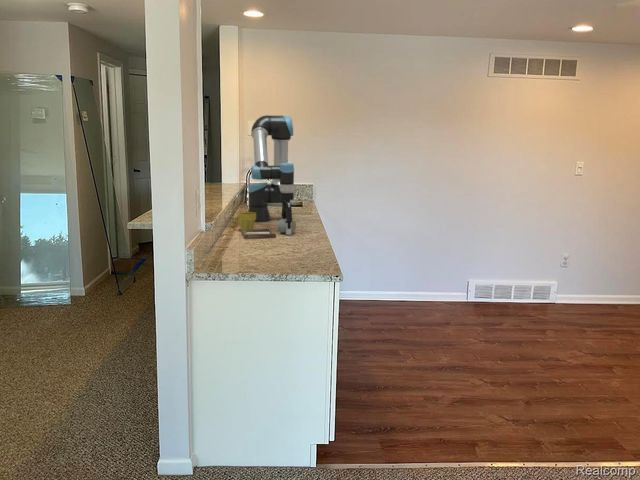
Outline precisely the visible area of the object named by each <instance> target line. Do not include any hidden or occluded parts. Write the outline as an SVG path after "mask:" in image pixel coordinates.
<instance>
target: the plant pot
mask: <svg viewBox="0 0 640 480" xmlns="http://www.w3.org/2000/svg"><path fill="white" fill-rule="evenodd" d="M237 220H238V222H239V228H240V231H241V232H242V230H245V229H255V228H254V227H255V223H256V222H255V220H256V213H253V212H248V211H247V212H246V211H243V212H238V213H237Z"/></svg>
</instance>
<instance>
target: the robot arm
mask: <svg viewBox="0 0 640 480" xmlns="http://www.w3.org/2000/svg"><path fill="white" fill-rule="evenodd" d="M250 131H251V132H250V134H251V137H252V139H253V157H254V158H253V160H254V165H252V166H251V170H250V171H251V179H252V180H258V181H259V180H271V181H270V184H268V182H266V181H265V182H263V181H262V182H256V183H251V184H250V185H248V210H247V212H253V213H256V220H255V223H257V222H259V223H261V222H269V221H271V214H270V210H269V208H268V207H269V205H268V204H281V205H282V206H281V219H286V220H287V221H286V222H285V223H286V233H285V235H288V236H289V235H291V236H292V234H291V222H292V220H293V211H292V209H293V207H292V205H293V204H292V203H291V201H294V199H295V193H294V192H295V183H294V181H295V179H294V178H295V167H294V166H295V165H294V163H293V162H292V163H291V162H288V161H289V160H288V158H289V141H291V140H292V137H293V136H294V125H293V119H292V117H291V116H289V115H269V114H267V115H262V116H260V117H258V118H257V119H256V120H255V121H254V123H253V124H252V126H251V130H250ZM268 136H270V137H271V140H273V165H269V156H268V143H267V138H268Z"/></svg>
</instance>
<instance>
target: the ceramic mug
mask: <svg viewBox="0 0 640 480" xmlns="http://www.w3.org/2000/svg"><path fill="white" fill-rule="evenodd" d="M286 221H287V220H286V219H282V218H280V219H279V220H278V225H277V226H278V227H277V228H278V229H277V230H278V233H281V234H286V223H285V222H286ZM296 226H297V223H296V221H295V220H293V219H292V222H291V235H292V234H294V233H295V232H296V229H297V227H296Z"/></svg>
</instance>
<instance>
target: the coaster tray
mask: <svg viewBox="0 0 640 480" xmlns="http://www.w3.org/2000/svg"><path fill="white" fill-rule="evenodd" d="M241 235H242V236H243V239H244V240H257V239H258V240H259V239H260V240H262V239H263V240H264V239H276V238H277V234H276V232H275V231H274V230H273V229H272V228H257V229H256V228H253V229H245V230H242V231H241Z"/></svg>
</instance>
